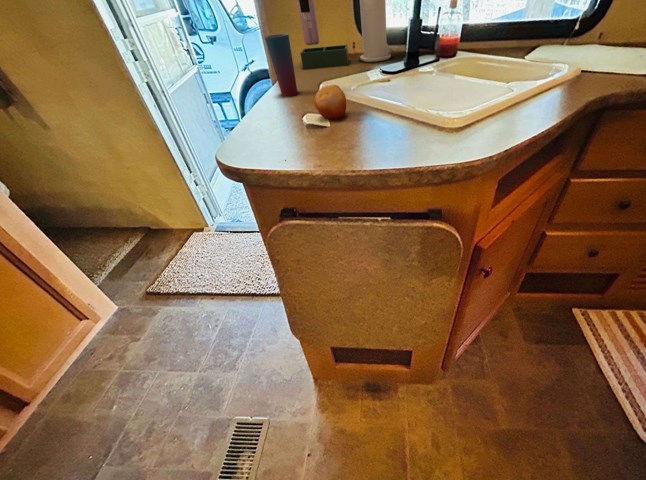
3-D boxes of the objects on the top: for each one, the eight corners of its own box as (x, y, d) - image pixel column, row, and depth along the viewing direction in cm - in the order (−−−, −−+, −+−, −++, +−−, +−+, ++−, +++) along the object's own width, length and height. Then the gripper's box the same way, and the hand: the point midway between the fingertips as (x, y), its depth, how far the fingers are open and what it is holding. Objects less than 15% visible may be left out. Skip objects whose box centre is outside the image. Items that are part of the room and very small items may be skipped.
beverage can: (320, 42, 124) (312, -9, 113) (319, 44, 120) (311, -9, 109) (305, 43, 124) (296, -8, 113) (303, 46, 120) (294, -7, 109)
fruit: (353, 103, 83) (345, 78, 75) (347, 129, 81) (338, 105, 74) (325, 103, 85) (314, 78, 77) (319, 128, 83) (307, 105, 76)
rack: (348, 60, 130) (347, 44, 126) (347, 65, 123) (345, 49, 119) (306, 64, 130) (303, 48, 127) (303, 69, 124) (300, 53, 120)
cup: (298, 96, 97) (285, 36, 86) (277, 98, 97) (261, 38, 87) (302, 90, 102) (290, 32, 91) (281, 91, 102) (267, 34, 92)
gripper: (302, -64, 96) (314, 12, 109) (310, -60, 108) (319, 8, 121) (278, -61, 96) (292, 14, 109) (288, -58, 109) (300, 10, 121)
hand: (306, 10), depth 115 cm, fingers closed on beverage can, 6 cm apart
